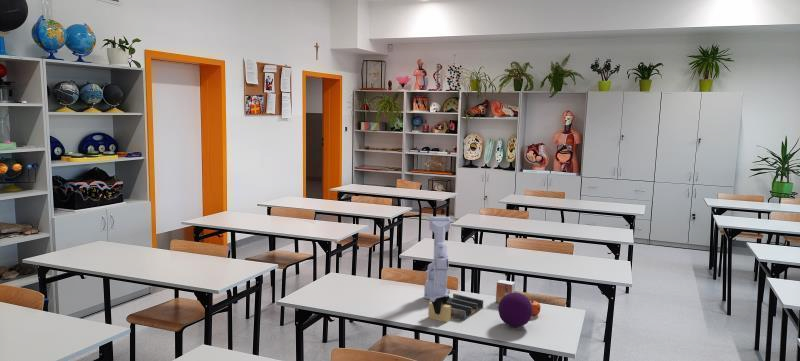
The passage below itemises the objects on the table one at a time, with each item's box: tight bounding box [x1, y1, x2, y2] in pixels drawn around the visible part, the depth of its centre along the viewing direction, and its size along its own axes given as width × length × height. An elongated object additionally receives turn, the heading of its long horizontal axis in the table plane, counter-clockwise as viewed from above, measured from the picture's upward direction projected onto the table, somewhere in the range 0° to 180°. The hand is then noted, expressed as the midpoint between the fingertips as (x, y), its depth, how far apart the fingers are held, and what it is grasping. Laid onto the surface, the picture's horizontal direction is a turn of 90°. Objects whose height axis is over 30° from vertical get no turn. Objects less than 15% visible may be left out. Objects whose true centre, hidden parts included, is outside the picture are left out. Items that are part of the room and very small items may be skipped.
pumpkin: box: [530, 299, 542, 317], centre depth 269 cm, size 8×8×7 cm
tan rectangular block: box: [427, 301, 452, 323], centre depth 261 cm, size 10×3×7 cm, turn 56°
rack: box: [446, 293, 484, 321], centre depth 272 cm, size 16×19×4 cm
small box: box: [495, 279, 516, 304], centre depth 285 cm, size 8×6×10 cm
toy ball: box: [497, 291, 533, 328], centre depth 254 cm, size 15×15×15 cm
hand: (439, 312), depth 261 cm, fingers open, 3 cm apart
